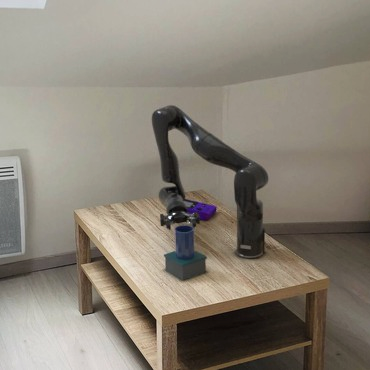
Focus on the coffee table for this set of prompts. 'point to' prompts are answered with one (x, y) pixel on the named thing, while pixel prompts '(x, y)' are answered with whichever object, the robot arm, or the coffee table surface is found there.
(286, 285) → the coffee table surface
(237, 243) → the robot arm
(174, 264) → the container
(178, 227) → the cup
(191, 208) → the handheld gaming console
